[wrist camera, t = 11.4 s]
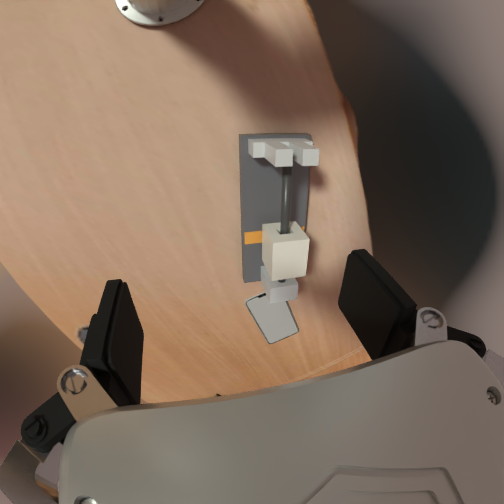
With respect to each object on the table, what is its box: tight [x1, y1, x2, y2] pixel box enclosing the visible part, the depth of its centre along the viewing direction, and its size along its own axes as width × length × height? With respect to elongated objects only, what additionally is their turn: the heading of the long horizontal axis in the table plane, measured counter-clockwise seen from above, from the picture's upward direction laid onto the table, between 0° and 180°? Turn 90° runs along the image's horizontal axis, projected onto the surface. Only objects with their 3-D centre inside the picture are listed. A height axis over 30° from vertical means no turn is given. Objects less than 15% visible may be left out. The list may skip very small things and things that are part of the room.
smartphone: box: [245, 291, 299, 344], centre depth 56 cm, size 7×1×15 cm
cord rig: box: [239, 133, 319, 304], centre depth 40 cm, size 24×10×10 cm, turn 1°
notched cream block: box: [262, 221, 310, 281], centre depth 40 cm, size 6×5×6 cm
